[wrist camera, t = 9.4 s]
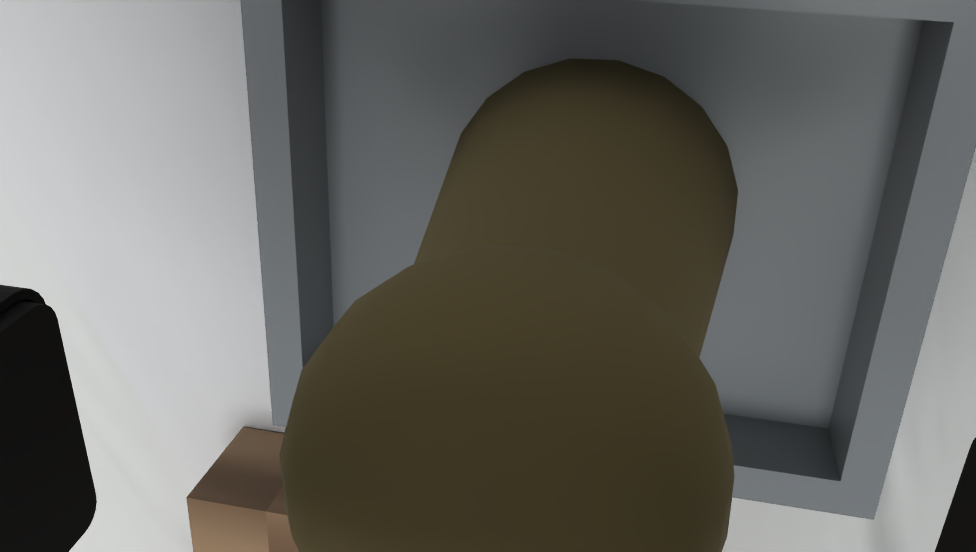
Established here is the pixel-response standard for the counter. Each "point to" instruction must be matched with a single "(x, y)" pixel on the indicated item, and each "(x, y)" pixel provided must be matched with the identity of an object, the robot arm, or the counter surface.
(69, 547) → the robot arm
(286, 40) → the tray
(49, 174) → the counter surface
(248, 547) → the socket block
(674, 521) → the cork
